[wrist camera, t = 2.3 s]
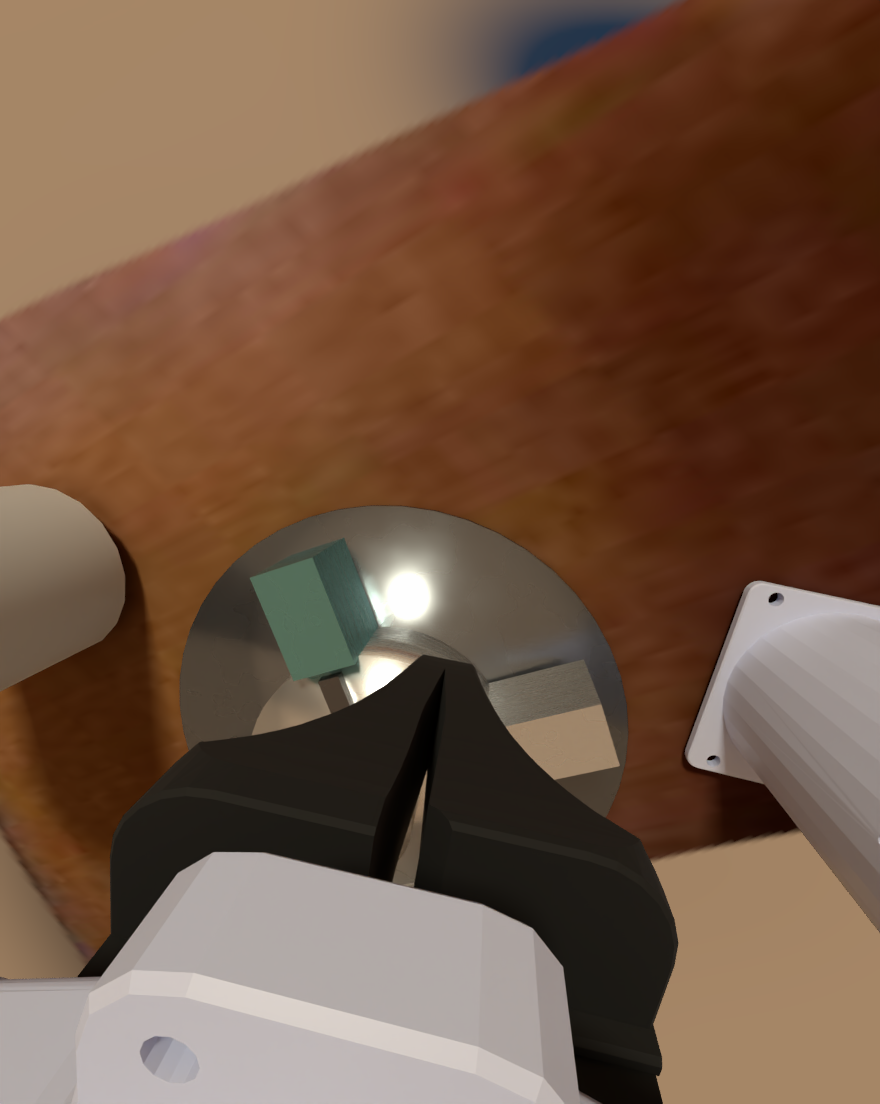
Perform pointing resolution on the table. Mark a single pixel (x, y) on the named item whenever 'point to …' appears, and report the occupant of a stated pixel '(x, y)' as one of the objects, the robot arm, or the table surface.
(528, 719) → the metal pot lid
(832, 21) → the table surface
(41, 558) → the can
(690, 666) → the table surface
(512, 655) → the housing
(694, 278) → the table surface
